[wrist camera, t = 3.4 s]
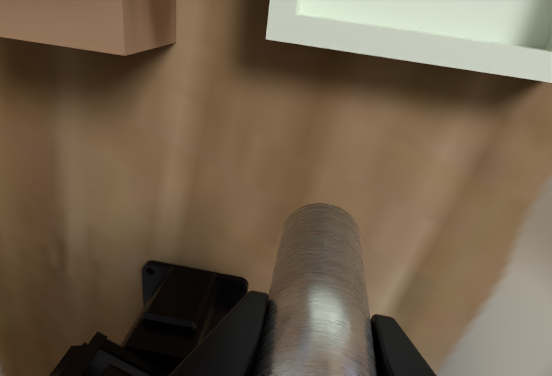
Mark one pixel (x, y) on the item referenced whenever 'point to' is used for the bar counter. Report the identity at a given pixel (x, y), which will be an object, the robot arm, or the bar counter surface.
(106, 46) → the walnut block
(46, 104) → the bar counter surface
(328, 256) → the cylinder
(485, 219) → the bar counter surface
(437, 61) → the tray
